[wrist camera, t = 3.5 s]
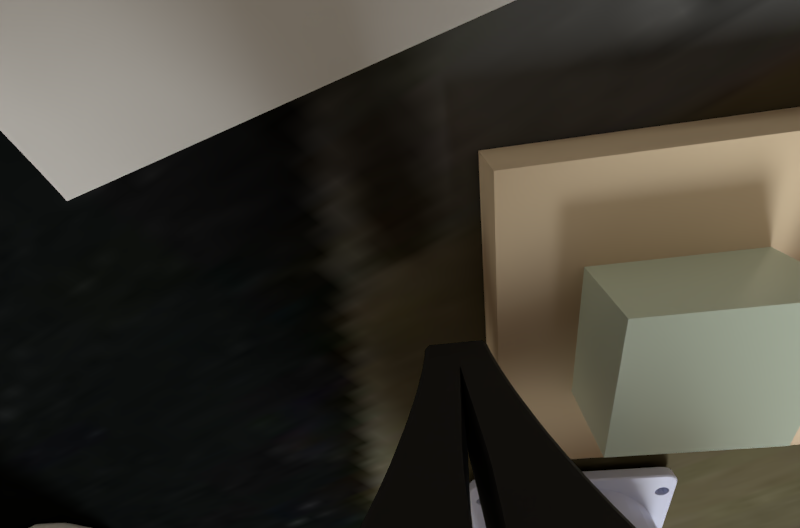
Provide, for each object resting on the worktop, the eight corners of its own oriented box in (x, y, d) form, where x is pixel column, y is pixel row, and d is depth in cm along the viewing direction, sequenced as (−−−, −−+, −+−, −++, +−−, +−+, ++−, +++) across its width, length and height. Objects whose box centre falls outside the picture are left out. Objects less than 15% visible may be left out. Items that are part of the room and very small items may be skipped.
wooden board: (878, 383, 13) (953, 434, 11) (489, 412, 14) (500, 463, 12) (1071, 69, 8) (1248, 71, 7) (478, 150, 9) (493, 170, 8)
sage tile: (724, 379, 10) (789, 445, 8) (571, 391, 11) (604, 457, 9) (771, 246, 8) (867, 296, 7) (584, 266, 9) (628, 318, 7)
